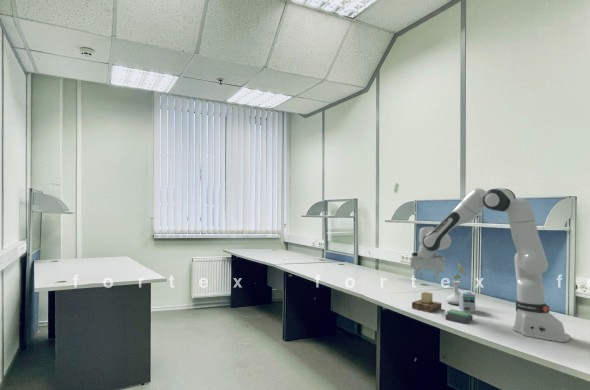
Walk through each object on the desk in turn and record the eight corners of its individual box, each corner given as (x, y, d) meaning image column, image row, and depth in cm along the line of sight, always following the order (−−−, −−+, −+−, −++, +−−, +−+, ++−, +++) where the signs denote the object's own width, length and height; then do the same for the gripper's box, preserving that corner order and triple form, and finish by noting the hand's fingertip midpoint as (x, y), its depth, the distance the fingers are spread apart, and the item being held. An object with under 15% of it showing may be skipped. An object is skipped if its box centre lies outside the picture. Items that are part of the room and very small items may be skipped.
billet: (432, 307, 217) (432, 293, 217) (428, 308, 214) (428, 294, 214) (425, 305, 220) (425, 291, 221) (421, 306, 217) (421, 293, 218)
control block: (472, 320, 196) (472, 315, 196) (464, 323, 189) (464, 318, 189) (453, 316, 203) (453, 311, 203) (445, 319, 196) (445, 314, 196)
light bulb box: (475, 313, 209) (475, 294, 210) (462, 312, 211) (463, 293, 211) (470, 308, 220) (470, 290, 220) (458, 307, 221) (458, 289, 222)
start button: (471, 318, 194) (471, 313, 194) (466, 321, 190) (466, 315, 190) (452, 314, 201) (452, 309, 202) (447, 316, 197) (447, 311, 197)
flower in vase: (459, 306, 223) (459, 264, 224) (442, 302, 232) (442, 262, 233) (471, 304, 231) (471, 263, 232) (453, 300, 240) (454, 261, 241)
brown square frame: (441, 309, 217) (441, 303, 217) (431, 312, 209) (431, 306, 209) (422, 305, 226) (422, 299, 226) (412, 308, 217) (412, 302, 218)
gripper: (447, 254, 213) (447, 279, 213) (414, 252, 228) (414, 275, 227) (442, 255, 209) (442, 280, 208) (408, 253, 224) (409, 276, 223)
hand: (427, 277), depth 218 cm, fingers open, 8 cm apart
